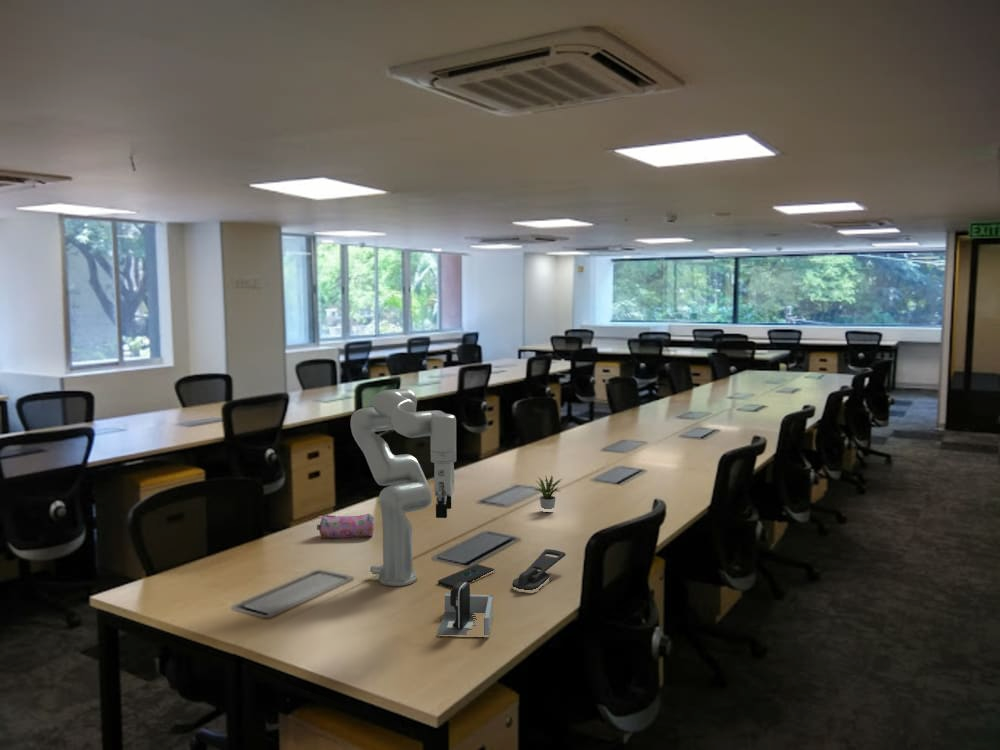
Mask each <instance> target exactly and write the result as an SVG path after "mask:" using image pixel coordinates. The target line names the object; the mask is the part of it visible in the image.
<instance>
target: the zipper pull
mask: <svg viewBox="0 0 1000 750" xmlns="http://www.w3.org/2000/svg"><path fill="white" fill-rule="evenodd" d="M549 555H551V556H549ZM554 556H555V557H554ZM564 557H566V552H564V551H561V550H556V549H549V548H546V549H544V551H542V552H541V553H540V555H539V556H538V557H537V558H536V559H535V561H534V562H532V564H531V565H530V566H529V567H528V568H527V569H526V570H524V571H523V572H521V573H520V574H519V576H518V577H517V578H514V579H513V580H512V586H513V587H516V588H518V589H524V590H533V589H536V588H538V587H539V586H540V585H541V584H543V583H544V582H545V581H546V580H547V579H548V578H549V577H550V576H551V575H550V574H549V573H547V572H546V571H548V570H549V569H550V568H551V567H553V566H554V565H555V564H556V563H558V562H559V561H561V560H562V559H563V558H564ZM549 579H550V578H549Z"/></svg>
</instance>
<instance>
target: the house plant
mask: <svg viewBox="0 0 1000 750" xmlns="http://www.w3.org/2000/svg"><path fill="white" fill-rule="evenodd" d="M537 478H538V480H539V481H537V480H534V481H535V482H537V484H538V485H539V486H540V488H535V489H534V491H539V492H541V494H542V495H541V496H540V497H539V502H540V503H539V504H540V508H541V507H542V508H544V509H552V508H554V509H555V504H556V499H557V498H556V497H557V496H554V493H556V492H559V493H561V490H559V489H558V488H559V483H561V481H563V478H560V479H558V480H557V481H555V482H554V476H553V475H551V476H550V479H549V480H548V477H547V475H546V474H545V479H544V481H545V483H544V481H543V480H542V478H541V477H539V476H537ZM539 482H540V483H539ZM553 482H554V483H553ZM557 485H558V487H556V486H557Z"/></svg>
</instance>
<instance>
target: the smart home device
mask: <svg viewBox="0 0 1000 750" xmlns="http://www.w3.org/2000/svg"><path fill="white" fill-rule="evenodd" d="M493 570H494V571H495V568H493V567H489V566H485V565H482V564H477V563H476V564H474V565H472V566H470V567H467V568H465V569H462V570H460V571H457V572H455V573H452V574H450V575H448V576H445V577H443V578H440V579H439V580H438V581H437V585H439V584H441V585H440V586H442V585H443V587H445V586H446V587H445V588H448V587H450V588H449V589H451V588H453V587H454V586H455V585H456V584H457V583H458V582H467V583H470V582H472V581H473V580H476V579H478V578H480V577H481V576H483V575H485V574H487V573H489V572H491V571H493ZM472 583H473V582H472ZM470 584H471V583H470Z"/></svg>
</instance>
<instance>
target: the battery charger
mask: <svg viewBox="0 0 1000 750" xmlns="http://www.w3.org/2000/svg"><path fill="white" fill-rule="evenodd" d="M470 585H471V583H470V584H469V583H467V582H458V583H457V584H456V585H455V586H454V587H453V588H452V589H451V588H450V593H449V594H450V605H451V606H453V607H454V609H455V610H456V621H455V622H454V623H453V627H456V628H459V629H460V628H463V627H464V626H465V625H466V623H467V622H468V621H469V620H470V595H471V586H470Z"/></svg>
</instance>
